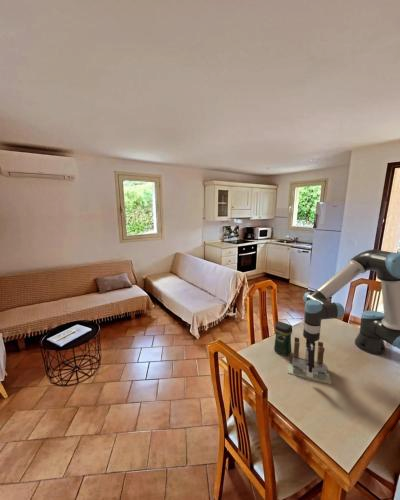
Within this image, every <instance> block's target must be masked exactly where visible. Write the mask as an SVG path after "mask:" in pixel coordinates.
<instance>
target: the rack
mask: <svg viewBox="0 0 400 500" xmlns="http://www.w3.org/2000/svg"><path fill="white" fill-rule="evenodd" d="M317 343H318V344H317V357H316V361H315V360H314V362H315V363H319V364H324V365H326V363H324V353H325V347H324V342H323V341H317ZM300 345H301V344H300V337H296V336H295V337H294V346H293V356H291V355H289V364H292V359H293V358H296V359H301V360H306V359H305V358H300V357H299V356H300V355H299V354H300ZM306 361H308V360H306Z"/></svg>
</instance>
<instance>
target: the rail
mask: <svg viewBox="0 0 400 500" xmlns="http://www.w3.org/2000/svg"><path fill="white" fill-rule="evenodd" d="M301 359H302V358H301ZM301 359H296V358H293V359H292V363H291V365H292V367H296V368H300V369H304V370H307V365H306V364H308V361H306V360H301ZM315 362H316V361H315ZM315 362H314V366H315V367H314V369H313V372H317V373H321V374H327V373H328V368H327V364H325V365H324V364H319V363H315Z"/></svg>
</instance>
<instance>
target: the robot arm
mask: <svg viewBox="0 0 400 500" xmlns="http://www.w3.org/2000/svg"><path fill="white" fill-rule="evenodd" d="M367 271H373V272H375V273H376V278H377V280H379V281H380V283H381V294H382V295H381V296H382V305H383V312H380V311H377V310H364V311H362V313H361V316H360V317H361V318H360V324H359V332H358V334H357V336H356V338H355V341H354V344H355V345H356V347H357V348H358V349H360V350H361V351H364V352H366V353H369V354H371V355H383V354H386V350H387V348H386V345H385V342H386V343H387V344H389V345H391V346H392V347H395V348H397V349H399V350H400V253H399V252H393V251H392V252H391V251H386V250H380V249H369V250H365V251H363V252H360V253H357V255H355V256H353V257H352V258H350V260H348V264H346V265H345V266H344V267H343V268H341V269H340V270H338V271H337V272H336V273H335V274H334V275H333V276H332V277H330V278H329V279H328V280H327V281H325V282H324V283H323V284H322V285H320V286H319V287H318V288H316V289H315V290H314V291H313V292H312V291H307V292H305V293H304V294H303V296H302V301H303V302H304V303H305V304H304V317H303V318H304V319H303V322H302V325H303V330H302V331H303V333H302V336H303V338H304V339H305V341H306V342H305V347H306V348H305V357H304V359H306V360H308V364H306V365H307V376H308V377H312V378H313V369H314V367H315V366H314V361H315V355H316V354H315V353H316V352H315V351H316V342H319V341H320V337H321V326H322V325H321V323H322V321H323V320H332V319H339V318H343V317H344V315H345V313H346V312H345V308H344V306H343V304H341V303H339V302H330V301H329V299H330V298H331V297H333V296H334V295H336V294H337V292H339V291H340V290H341V289H343V288H344V287H345V286H347V284H349V283H350V282H352V281H353V280H354V279H355V278H357V276H359V275H360V274H365V273H367Z"/></svg>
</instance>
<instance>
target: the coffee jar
mask: <svg viewBox="0 0 400 500" xmlns="http://www.w3.org/2000/svg"><path fill="white" fill-rule="evenodd" d="M274 331H275V339H274V346H273V350H274V351H275V352H276V353H277V354H280V355H281V356H284V357H288V356H291V354H292V333H293V325H291V324H289V323H286V322H282V321H280V320H278V321H277V322H276V323H275V325H274Z"/></svg>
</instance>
